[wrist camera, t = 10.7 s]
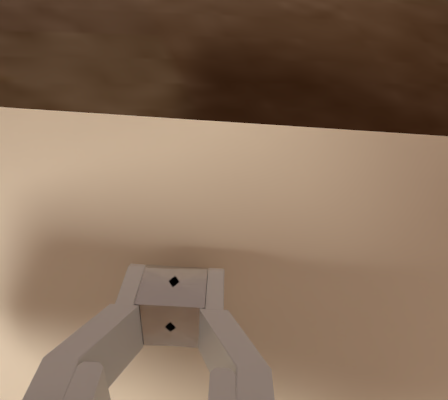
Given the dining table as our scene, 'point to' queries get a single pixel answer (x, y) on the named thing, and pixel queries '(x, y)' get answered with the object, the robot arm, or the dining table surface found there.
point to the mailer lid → (231, 247)
